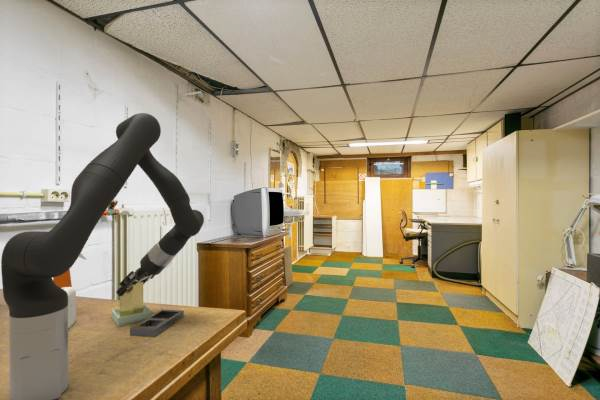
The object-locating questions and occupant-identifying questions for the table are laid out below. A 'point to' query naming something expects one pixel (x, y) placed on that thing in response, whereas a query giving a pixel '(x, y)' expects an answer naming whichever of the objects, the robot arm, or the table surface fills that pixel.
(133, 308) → the gold perfume bottle
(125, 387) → the table surface
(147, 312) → the parts tray
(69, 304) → the photo printer
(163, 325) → the grey metal holder frame
